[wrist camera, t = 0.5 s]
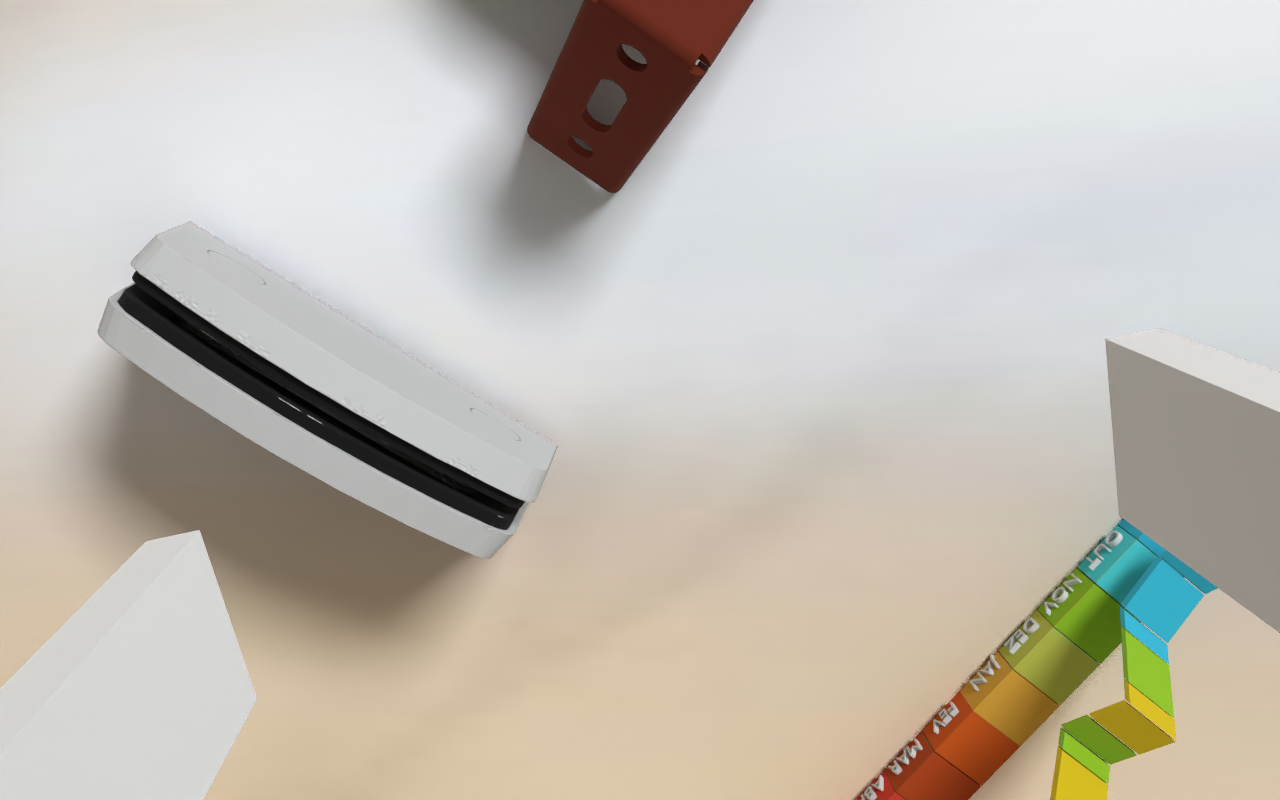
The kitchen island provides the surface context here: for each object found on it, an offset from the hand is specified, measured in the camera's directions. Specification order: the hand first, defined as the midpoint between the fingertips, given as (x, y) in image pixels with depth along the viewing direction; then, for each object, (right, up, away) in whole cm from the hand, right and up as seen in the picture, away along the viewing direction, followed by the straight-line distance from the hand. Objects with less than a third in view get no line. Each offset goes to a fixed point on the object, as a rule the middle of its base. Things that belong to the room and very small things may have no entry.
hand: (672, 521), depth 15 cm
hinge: (-12, +2, +28) cm, 30 cm away
